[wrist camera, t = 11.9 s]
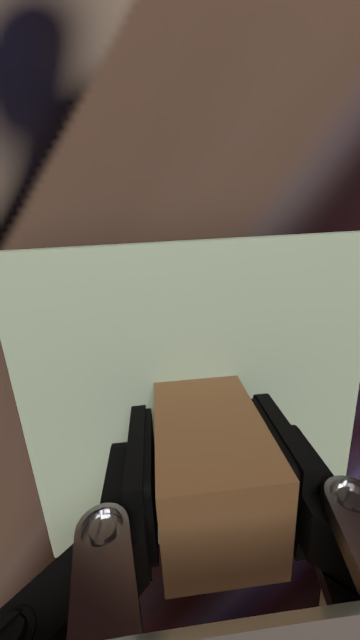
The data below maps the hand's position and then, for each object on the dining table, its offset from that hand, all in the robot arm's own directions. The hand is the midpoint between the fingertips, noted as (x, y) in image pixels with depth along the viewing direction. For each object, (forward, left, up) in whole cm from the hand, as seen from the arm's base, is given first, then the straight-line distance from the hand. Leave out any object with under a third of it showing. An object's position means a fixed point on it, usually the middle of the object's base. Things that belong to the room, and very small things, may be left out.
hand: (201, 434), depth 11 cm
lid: (0, 0, -4) cm, 4 cm away
